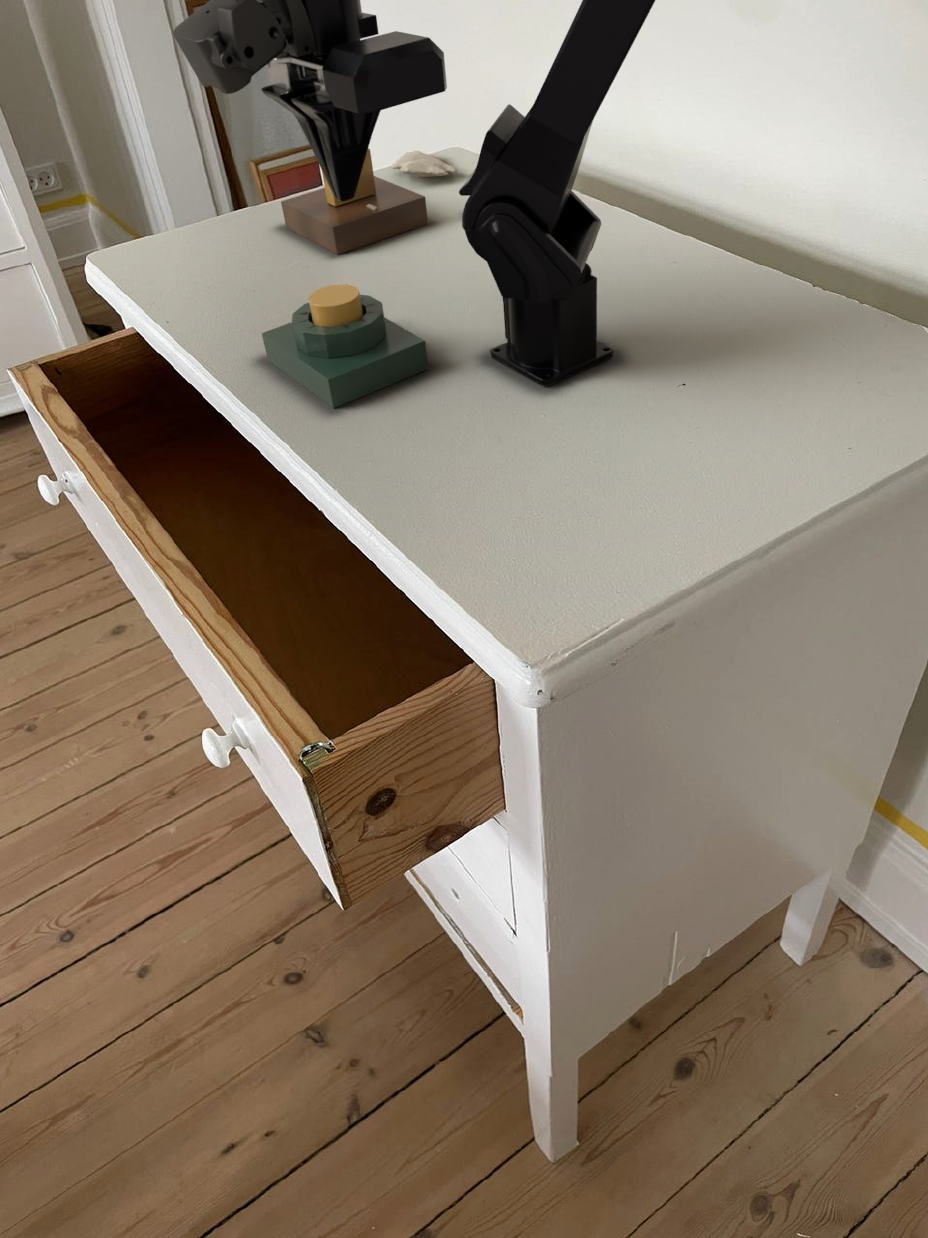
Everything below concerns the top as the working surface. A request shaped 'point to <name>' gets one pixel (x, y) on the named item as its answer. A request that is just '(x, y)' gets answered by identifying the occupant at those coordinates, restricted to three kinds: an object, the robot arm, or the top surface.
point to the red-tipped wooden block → (364, 186)
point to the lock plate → (355, 217)
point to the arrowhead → (422, 165)
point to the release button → (335, 305)
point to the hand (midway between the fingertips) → (345, 199)
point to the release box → (345, 353)
